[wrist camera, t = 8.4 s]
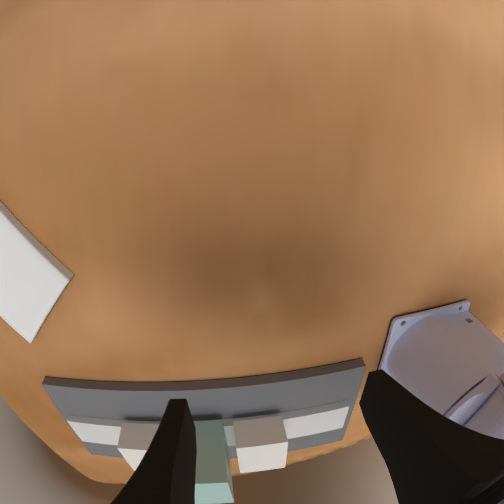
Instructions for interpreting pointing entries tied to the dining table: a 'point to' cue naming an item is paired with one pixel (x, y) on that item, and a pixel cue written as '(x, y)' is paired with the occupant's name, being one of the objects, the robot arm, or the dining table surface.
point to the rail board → (216, 411)
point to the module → (212, 464)
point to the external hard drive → (27, 277)
